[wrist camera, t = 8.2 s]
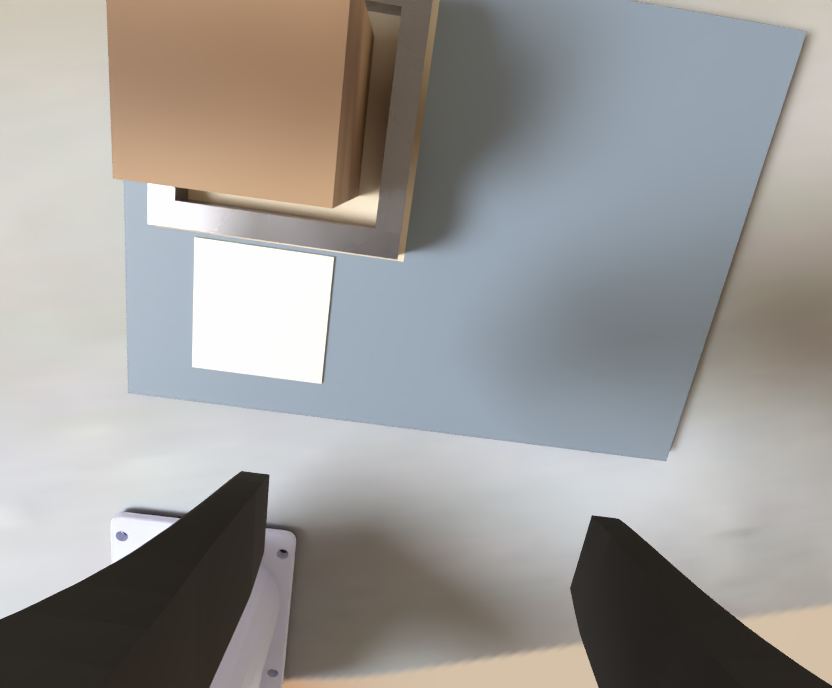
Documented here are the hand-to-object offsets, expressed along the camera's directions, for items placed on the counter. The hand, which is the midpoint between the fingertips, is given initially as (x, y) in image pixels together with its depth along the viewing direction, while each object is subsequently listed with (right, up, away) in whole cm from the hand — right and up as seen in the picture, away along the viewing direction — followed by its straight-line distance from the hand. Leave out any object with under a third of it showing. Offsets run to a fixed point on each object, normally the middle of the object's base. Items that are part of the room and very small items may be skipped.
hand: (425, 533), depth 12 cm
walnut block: (-4, +11, +4) cm, 13 cm away
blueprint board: (0, +9, +8) cm, 12 cm away
